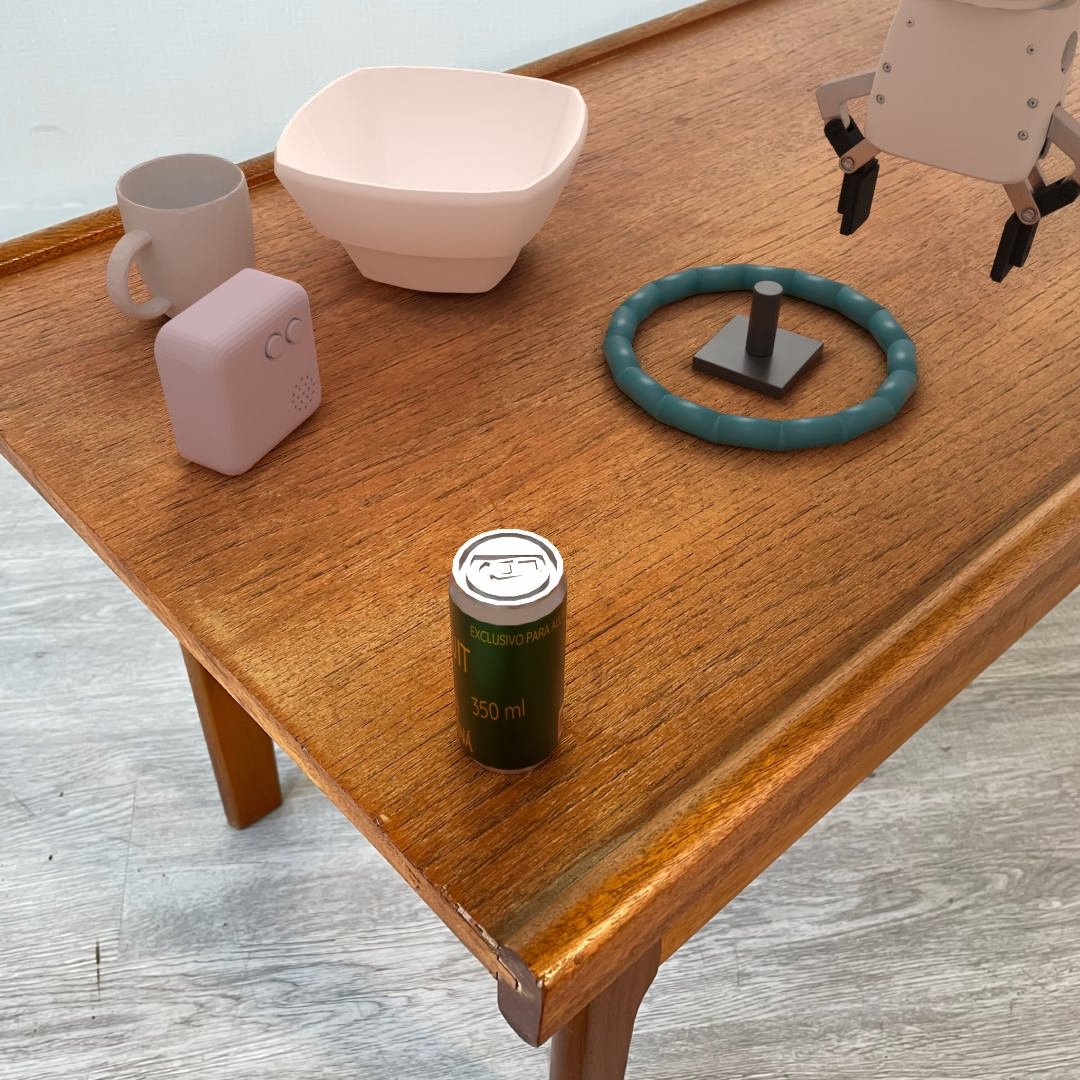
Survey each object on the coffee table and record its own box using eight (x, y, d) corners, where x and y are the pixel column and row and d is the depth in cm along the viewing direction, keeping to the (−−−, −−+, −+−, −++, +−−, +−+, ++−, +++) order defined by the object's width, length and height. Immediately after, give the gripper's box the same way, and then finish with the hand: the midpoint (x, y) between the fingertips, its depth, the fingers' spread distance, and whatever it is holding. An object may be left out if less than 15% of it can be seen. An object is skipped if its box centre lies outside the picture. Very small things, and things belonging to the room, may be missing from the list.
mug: (199, 262, 97) (175, 142, 90) (289, 292, 93) (270, 169, 87) (83, 338, 88) (46, 212, 82) (177, 373, 85) (147, 245, 78)
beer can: (553, 690, 64) (557, 520, 56) (571, 772, 60) (578, 602, 52) (451, 702, 63) (441, 531, 55) (463, 785, 59) (453, 615, 51)
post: (822, 354, 88) (836, 281, 84) (780, 400, 83) (793, 326, 79) (736, 324, 91) (746, 252, 86) (691, 367, 86) (699, 294, 82)
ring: (958, 340, 89) (964, 317, 88) (836, 498, 76) (842, 473, 74) (696, 255, 98) (698, 232, 97) (545, 382, 85) (545, 358, 83)
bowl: (548, 356, 87) (550, 208, 79) (259, 318, 91) (234, 172, 83) (603, 215, 103) (610, 80, 95) (357, 187, 107) (343, 54, 99)
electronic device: (240, 490, 76) (212, 356, 69) (182, 468, 77) (149, 334, 71) (333, 408, 82) (316, 278, 76) (278, 388, 84) (256, 260, 77)
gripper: (1189, -30, 62) (1083, 265, 74) (873, -90, 69) (822, 188, 81) (1152, 12, 58) (1046, 320, 69) (818, -56, 65) (773, 233, 76)
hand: (926, 249), depth 75 cm, fingers open, 9 cm apart
